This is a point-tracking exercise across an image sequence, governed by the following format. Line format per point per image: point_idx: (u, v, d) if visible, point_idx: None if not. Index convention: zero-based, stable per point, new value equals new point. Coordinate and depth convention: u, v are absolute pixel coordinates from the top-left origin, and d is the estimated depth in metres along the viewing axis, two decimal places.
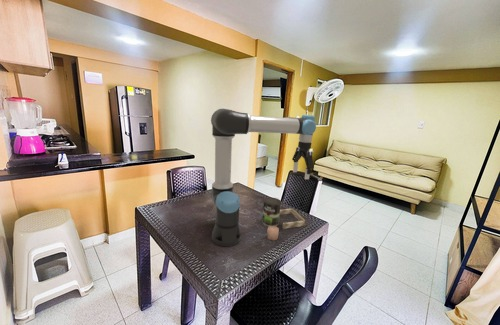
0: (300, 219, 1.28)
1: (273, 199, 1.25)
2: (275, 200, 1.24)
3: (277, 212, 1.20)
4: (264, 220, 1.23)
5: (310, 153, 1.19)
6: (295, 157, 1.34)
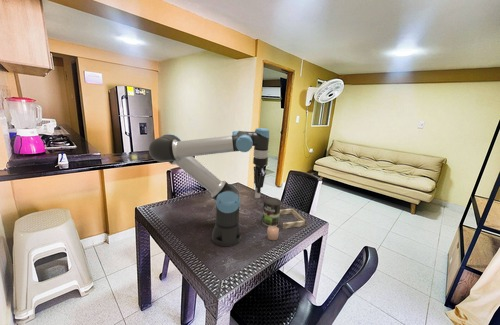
0: (300, 219, 1.28)
1: (273, 199, 1.25)
2: (275, 200, 1.24)
3: (277, 212, 1.20)
4: (264, 220, 1.23)
5: (263, 174, 1.09)
6: None
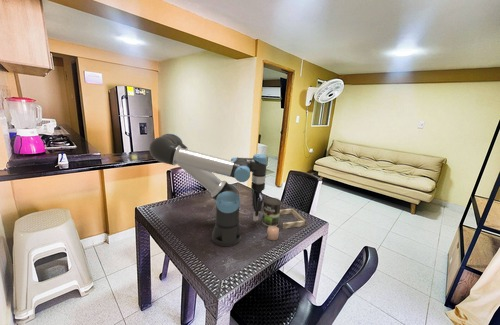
0: (300, 219, 1.28)
1: (273, 199, 1.25)
2: (275, 200, 1.24)
3: (277, 212, 1.20)
4: (264, 220, 1.23)
5: (261, 199, 1.13)
6: None
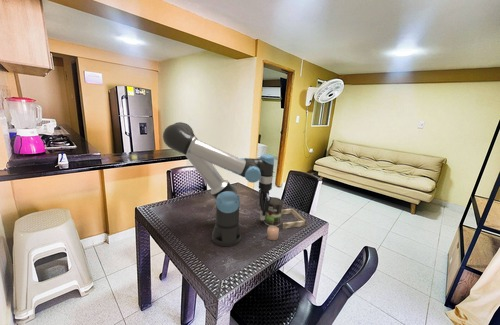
0: (300, 219, 1.28)
1: (275, 199, 1.25)
2: (277, 200, 1.24)
3: (279, 212, 1.20)
4: (266, 220, 1.23)
5: (268, 199, 1.14)
6: None
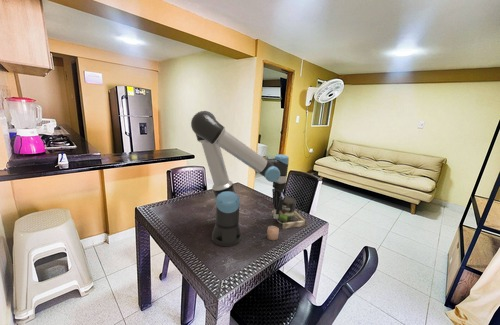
0: (300, 219, 1.28)
1: (288, 198, 1.28)
2: (290, 199, 1.27)
3: (292, 210, 1.23)
4: (279, 218, 1.26)
5: (283, 198, 1.17)
6: None
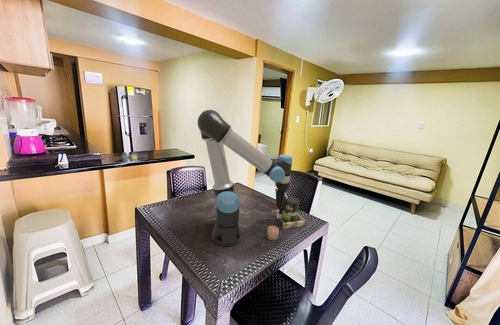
0: (300, 219, 1.28)
1: (291, 198, 1.29)
2: (293, 198, 1.28)
3: (295, 210, 1.24)
4: (282, 218, 1.27)
5: (286, 198, 1.18)
6: (278, 200, 1.27)
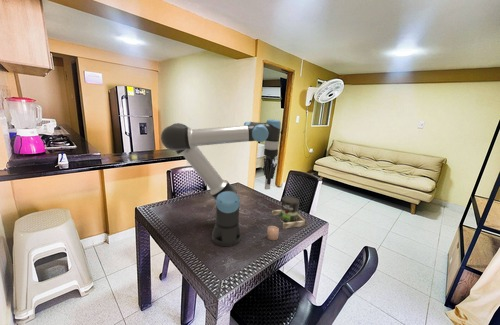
0: (300, 219, 1.28)
1: (291, 198, 1.29)
2: (293, 198, 1.28)
3: (295, 210, 1.24)
4: (282, 218, 1.27)
5: (274, 165, 1.10)
6: None
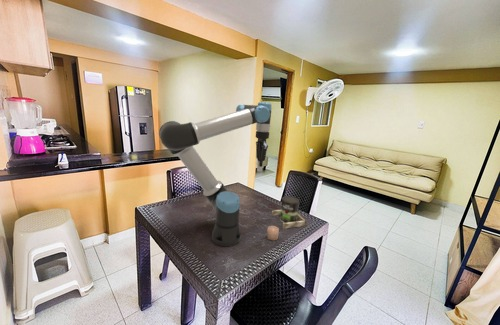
0: (300, 219, 1.28)
1: (291, 198, 1.29)
2: (293, 198, 1.28)
3: (295, 210, 1.24)
4: (282, 218, 1.27)
5: (265, 147, 1.13)
6: None
